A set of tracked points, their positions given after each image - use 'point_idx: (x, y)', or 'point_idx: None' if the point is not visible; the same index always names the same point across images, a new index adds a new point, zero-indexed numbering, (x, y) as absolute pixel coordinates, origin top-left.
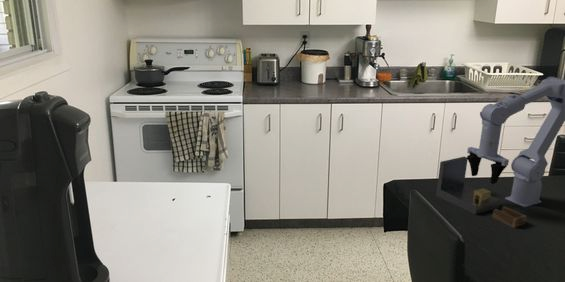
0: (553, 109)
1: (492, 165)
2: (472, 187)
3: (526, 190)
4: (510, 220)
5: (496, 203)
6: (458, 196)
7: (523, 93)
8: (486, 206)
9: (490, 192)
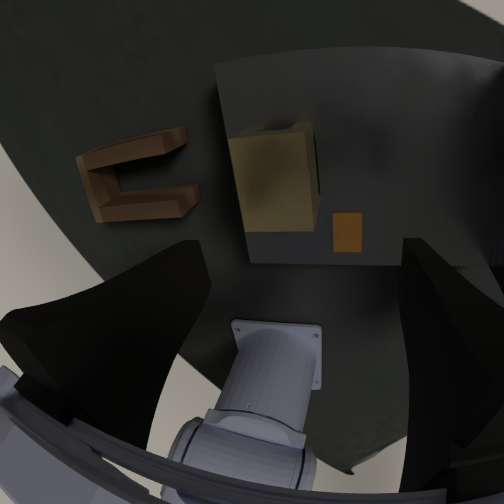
0: None
1: (14, 327)
2: None
3: (230, 379)
4: (98, 149)
5: None
6: (385, 69)
7: None
8: None
9: (246, 225)
